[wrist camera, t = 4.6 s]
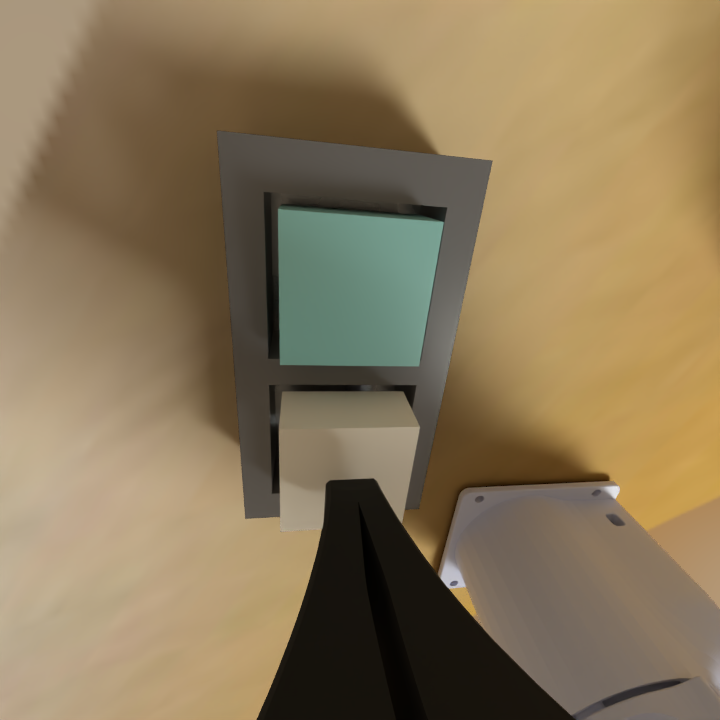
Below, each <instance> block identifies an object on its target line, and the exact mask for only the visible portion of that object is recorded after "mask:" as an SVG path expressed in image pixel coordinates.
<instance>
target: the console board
mask: <svg viewBox="0 0 720 720" xmlns="http://www.w3.org/2000/svg"><path fill="white" fill-rule="evenodd" d="M281 204H292V205H304V206H316V207H329V208H341V209H354V210H366V211H378V212H391V213H403V214H416V215H420V209H421V205H412V204H401V203H389V202H377V201H365V200H354V199H342V198H330V197H318V196H307V195H295V194H283V193H271V227H272V277H273V326H274V330H279V252H278V208H279V207H280V206H281ZM394 390H395V385H275V425H276V451H279V422H280V411H281V400H282V391H394Z"/></svg>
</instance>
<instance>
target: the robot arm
mask: <svg viewBox="0 0 720 720" xmlns="http://www.w3.org/2000/svg"><path fill="white" fill-rule="evenodd" d="M619 491H620V487H619V486H618V485H617V484H616V483H615V482H614V481H601V482H580V483H558V484H537V485H516V486H495V487H474V488H466V489H464V490H463V491H461V493H460V495H459V498H458V501H457V505H456V509H455V512H454V516H453V520H452V524H451V527H450V531H449V535H448V538H447V542H446V546H445V549H444V553H443V557H442V560H441V564H440V568H439V571H438V574H437V573H436V572H435V570H434V569H433V568H432V567H431V565H430V564H429V563H428V561H427V560H426V558H425V557H424V556H423V554H422V553H421V552H420V550H419V549H418V547H417V546H416V544H415V543H414V541H413V540H412V538H411V537H410V535H409V534H408V533H407V531H406V530H405V528H404V527H403V525H402V523H401V522H400V520H399V519H398V517H397V516H396V514H395V512H394V511H393V509H392V507H391V506H390V504H389V502H388V501H387V499H386V497H385V495H384V494H383V492H382V490H381V488H380V486H379V484H378V482H377V481H376V480H375V479H374V478H369V479H345V480H330V481H328V482H327V483H326V488H325V506H324V522H323V527H322V532H321V537H320V541H319V546H318V550H317V554H316V558H315V562H314V565H313V569H312V572H311V576H310V579H309V583H308V586H307V590H306V593H305V596H304V599H303V602H302V605H301V608H300V611H299V614H298V617H297V620H296V623H295V626H294V628H293V631H292V634H291V637H290V639H289V642H288V645H287V647H286V650H285V652H284V655H283V658H282V660H281V663H280V665H279V668H278V671H277V673H276V675H275V678H274V680H273V683H272V685H271V688H270V690H269V693H268V695H267V697H266V700H265V702H264V704H263V706H262V709H261V711H260V713H259V716H258V718H257V720H720V609H719V608H718V606H717V605H716V604H715V602H714V601H713V600H712V599H711V598H710V597H709V595H708V594H707V593H706V592H705V591H704V590H703V589H702V588H701V587H700V586H699V585H698V584H697V583H696V582H695V581H694V580H693V579H692V578H691V577H690V576H689V575H688V574H687V573H686V572H685V570H684V569H682V568H681V566H680V565H679V564H678V563H677V562H676V561H675V560H674V559H673V558H672V557H671V556H670V555H669V554H668V553H667V552H666V551H665V550H664V549H663V548H662V547H661V546H660V545H659V544H658V543H657V542H656V541H655V540H654V539H653V538H652V537H651V536H650V535H649V534H648V533H647V532H646V530H645V529H644V528H643V527H642V526H641V525H640V524H639V523H638V522H637V521H636V520H635V519H634V518H633V517H632V516H631V515H630V514H629V513H628V512H627V511H626V510H625V509H624V508H623V507H622V506H621V505H620V504H619V503H618V502H617V501H616V500H615V499H616V497H617V495H618V493H619ZM459 587H466V588H467V590H468V593H469V595H470V598H471V600H472V603H473V605H474V608H475V610H476V613H477V615H478V618H479V620H480V623H481V625H482V627H481V626H480V625H479V623H478V622H477V621H476V620H475V619H474V618H473V617H472V616H471V614H470V613H469V612H468V611H467V610H466V609H465V608H464V606H463V605H462V604H461V603H460V602H459V601H458V599H457V598H456V597H455V596H454V595H453V593H452V592H451V591H450V590H449V588H459Z"/></svg>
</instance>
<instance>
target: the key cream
mask: <svg viewBox="0 0 720 720" xmlns="http://www.w3.org/2000/svg"><path fill="white" fill-rule="evenodd" d="M419 430H420V426H419V424H418V422H417V419H416V417H415V415H414V413H413V411H412V409H411V407H410V405H409V403H408V401H407V398H406V396H405V394H404V392H403V391H282V400H281V411H280V422H279V474H280V532H286V531H302V530H317V529H322V527H323V522H324V506H325V488H326V483H327V482H328V481H330V480H345V479H369V478H374V479H375V480H376V481H377V482H378V484H379V486H380V488H381V490H382V492H383V494H384V495H385V497H386V499H387V501H388V502H389V504H390V506H391V507H392V509H393V511H394V512H395V514H396V516H397V517H398V519H399V520H400V522H401V523H402V520H403V515H404V510H405V504H406V499H407V494H408V489H409V483H410V478H411V473H412V467H413V462H414V457H415V451H416V446H417V441H418V435H419Z"/></svg>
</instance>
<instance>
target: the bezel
mask: <svg viewBox="0 0 720 720" xmlns="http://www.w3.org/2000/svg"><path fill="white" fill-rule="evenodd" d="M217 139H218V152H219V166H220V180H221V193H222V207H223V220H224V234H225V248H226V261H227V275H228V289H229V302H230V316H231V330H232V343H233V357H234V370H235V384H236V398H237V411H238V425H239V439H240V452H241V466H242V479H243V493H244V507H245V519H249V518H267V517H280V474H279V451H276V425H275V385H395V390H394V391H403V392H404V394H405V396H406V398H407V401H408V403H409V405H410V407H411V409H412V411H413V413H414V415H415V417H416V419H417V422H418V424H419V426H420V430H419V435H418V441H417V446H416V451H415V457H414V462H413V467H412V473H411V478H410V483H409V489H408V494H407V499H406V504H405V510H409V509H419V506H420V501H421V497H422V492H423V487H424V482H425V478H426V473H427V468H428V463H429V459H430V454H431V449H432V445H433V440H434V435H435V430H436V426H437V421H438V416H439V411H440V407H441V402H442V397H443V393H444V388H445V383H446V378H447V374H448V369H449V364H450V359H451V355H452V350H453V345H454V341H455V336H456V331H457V326H458V322H459V317H460V312H461V307H462V303H463V298H464V293H465V289H466V284H467V279H468V274H469V270H470V265H471V260H472V255H473V251H474V246H475V241H476V237H477V232H478V227H479V222H480V218H481V213H482V208H483V203H484V199H485V194H486V189H487V184H488V180H489V175H490V170H491V166H492V161H491V160H482V159H473V158H464V157H454V156H445V155H436V154H427V153H418V152H409V151H400V150H390V149H381V148H372V147H363V146H354V145H345V144H336V143H327V142H317V141H308V140H299V139H290V138H281V137H272V136H263V135H254V134H244V133H235V132H226V131H217ZM271 193H283V194H295V195H307V196H318V197H330V198H342V199H354V200H365V201H377V202H389V203H401V204H412V205H421V209H420V215H422V216H426V217H429V218H432V219H435V220H439V221H442V222H444V224H443V230H442V236H441V241H440V247H439V253H438V259H437V265H436V271H435V276H434V282H433V288H432V294H431V300H430V305H429V311H428V317H427V323H426V329H425V335H424V340H423V346H422V352H421V358H420V364H419V366H327V365H280V331H279V330H274V326H273V277H272V227H271Z"/></svg>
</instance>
